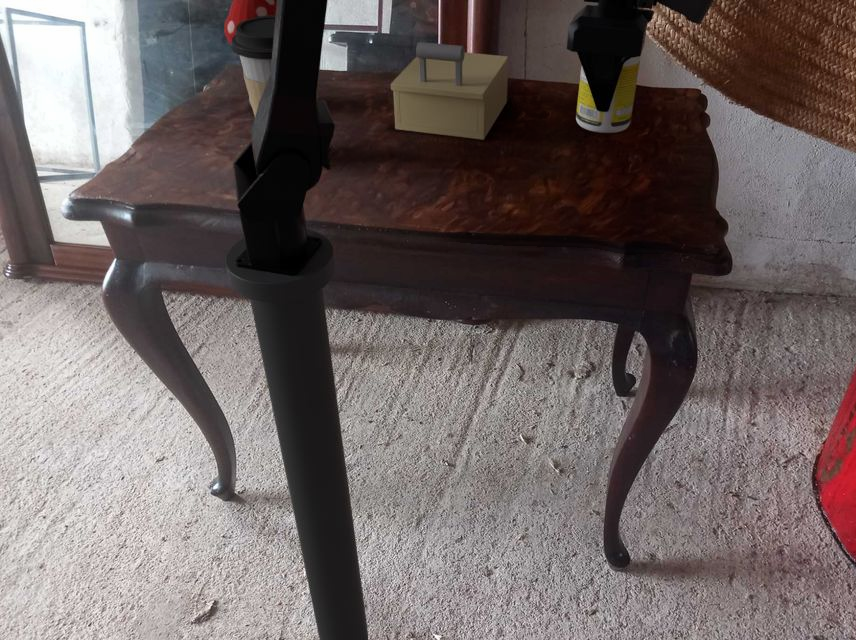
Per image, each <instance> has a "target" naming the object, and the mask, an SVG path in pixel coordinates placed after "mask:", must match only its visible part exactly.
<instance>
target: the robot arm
mask: <svg viewBox="0 0 856 640" xmlns="http://www.w3.org/2000/svg"><path fill="white" fill-rule="evenodd" d="M328 1H329V0H277V6H276V17H275V28H274V40H273V51H272V62H271V72H270V76H269V80H268V82H267V85H266V87H265V89H264V92H263V94H262V97H261V99H260V102H259V105H258V109H257V112H256V116H255V115H254V120H253V123H252V127H251V132H250V142H249V143H248V144H247V146H246V147H244V149H243V150H242V152H241V153H240V154H239V155H238V156H237V157H236V159H235V160H234V161H233V162H232V170H233V179H234V186H235V187H234V188H235V196H236V204H237V208H238V209H239V210H238V213H239V216H240V217H239V218H240V222H241V228H242V234H243V238H244V239H245V244H246V249H245V250H244V251H243V253H242V254H241V255H240V256H239V257H238V258H237V259H236V260H235V264H236V266H237V267H241V268H247V269H253V270H259V271H265V272H271V273H277V274H283V275H289V276H296V275H298V274H299V272H300V271H301V270H302V269H303V267H304V266H305V265H306V264H307V262H308V261H309V260H310V259H311V257H312V256H313V255H314V254H315V252H316V251H317V250H318V249H319V247H320V246H321V245H322V239H321V238H317V237H310V236H307V229H308V228H307V221H306V215H305V208H304V207H305V206H304V203H305V199H306V196H307V193H308V191H310V190H311V189H313V188H316V186H317V185H318V184H319V182H320V180H321V177H322V173H323V168H324V169H325V170H328V171H329V170H330V169H331V165H330V161H329V150H330V146H331V143H332V140H333V136H334V132H335V128H336V125H335V122H334V120H333V116H332V114H331V111H330V109H329V106H328V104H327V101H326V100H325V99H318V100H317V97H316V90H317V82H318V81H319V73H320V66H321V58H322V50H323V49H322V48H323V41H324V32H325V24H326V16H327V9H328ZM714 1H715V0H583V3H584V2H585V3H595V4H596V3H597V4H596V5H592V4H586V5H585V6H584V7H582V8H581V9H580V10H579V11H577V13H575V15H574V16H573V18H572V20H571V22H570V23H569V25H568V30H567V41H566V50H568V51H570V52H572V53H576V55H577V56H578V60H579V61H580V65H581V67H583V70H584V73H585V76H586V79H587V82H588V85H589V88H590V91H591V94H592V97H593V100H594V103H595V106H596V109H597V111H600V112H608V111H609V108H610V105H611V102H612V99H613V96H614V93H615V90H616V87H617V83H618V80H619V77H620V74H621V71H622V68H623V65H624V63H625V62H626V61H627V60H629V59H630V58H634V57H639V56H640V57H641V55H642V53H643V49H644V46H645V42H646V36H647V28H648V24H649V23H650V22H652V19H653V17H654V14H655V11H654V10H652V9H653V7H657V5H658V4H660V5H662V6H664V7H666V8H667V9H670V10H672V11H674V12H676V13H678V14H680V15H682V16H684V17H685V19H686V21H689V22H691V23H693V24H695V25H701V24H702V23H703V21H704V19H705V17H706V16H707V13H708V12H709V11H710V8H711V6H712V5H713V3H714Z"/></svg>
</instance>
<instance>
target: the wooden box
mask: <svg viewBox="0 0 856 640" xmlns="http://www.w3.org/2000/svg"><path fill="white" fill-rule="evenodd" d="M508 79H509V62H508V63H507V65H506V66H505V68H504V69H503V71H502V72H501V74H500V75H499V77H498V78H497V80H496V81H495V83H494V84H493V86H492V87H491V89H490V90H489V92H488V93H487V95H486V96H485V98H484V99H483V100H476V99H467V98H458V97H449V96H440V95H431V94H421V93H412V92H403V91H394V90H392V92H393V109H394V129H395V130H399V131H407V132H416V133H424V134H433V135H440V136H449V137H457V138H465V139H466V138H467V139H475V140H481V141H482V140H483V141H484V140H485V138H486V137H487V135H488V134H489V132H490V130H491V129H492V127H493V125H494V124H495V122H496V121H497V119H498V117H499V116H500V114H501V113H502V111H503V109H504V107H505V106H506V104H507V102H508V83H509V82H508Z"/></svg>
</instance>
